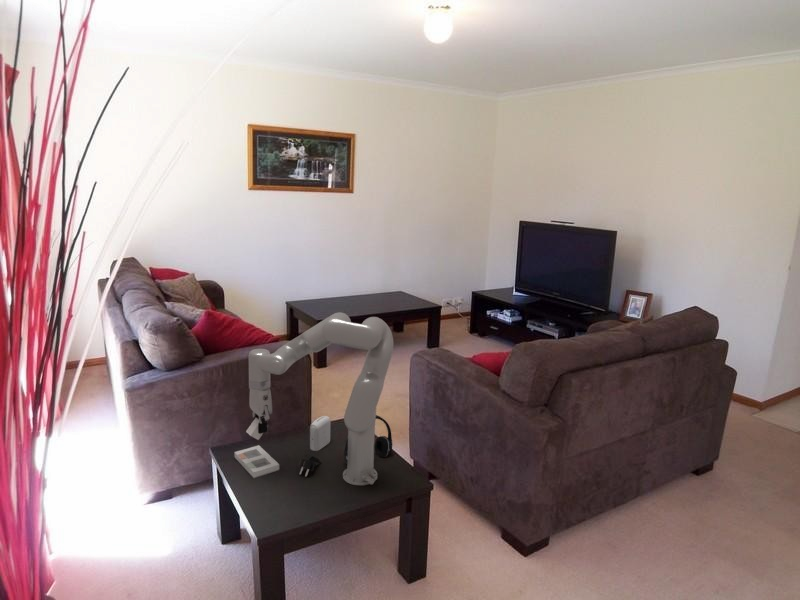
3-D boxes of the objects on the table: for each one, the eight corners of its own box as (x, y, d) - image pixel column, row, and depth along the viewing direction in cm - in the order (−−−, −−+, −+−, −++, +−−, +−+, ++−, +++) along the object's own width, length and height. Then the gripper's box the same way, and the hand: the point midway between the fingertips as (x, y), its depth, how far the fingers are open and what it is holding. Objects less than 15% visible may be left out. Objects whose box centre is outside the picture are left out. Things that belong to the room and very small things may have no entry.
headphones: (384, 450, 220) (386, 408, 216) (394, 457, 214) (396, 414, 211) (341, 463, 208) (342, 419, 204) (350, 471, 203) (351, 425, 199)
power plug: (328, 463, 206) (313, 455, 196) (320, 482, 203) (305, 476, 194) (316, 459, 209) (300, 451, 199) (308, 478, 206) (292, 471, 196)
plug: (258, 440, 197) (269, 423, 198) (250, 435, 194) (262, 419, 196) (253, 435, 200) (265, 419, 201) (245, 431, 197) (257, 415, 199)
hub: (279, 470, 201) (279, 463, 201) (253, 478, 195) (253, 471, 194) (259, 450, 215) (259, 444, 214) (234, 457, 209) (234, 451, 208)
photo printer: (317, 452, 215) (317, 424, 213) (308, 450, 217) (308, 421, 215) (331, 442, 224) (332, 414, 222) (323, 440, 226) (323, 412, 223)
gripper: (279, 388, 191) (279, 436, 195) (259, 374, 203) (260, 419, 207) (259, 392, 186) (260, 441, 190) (240, 378, 199) (241, 424, 203)
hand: (260, 429), depth 199 cm, fingers closed on plug, 3 cm apart
